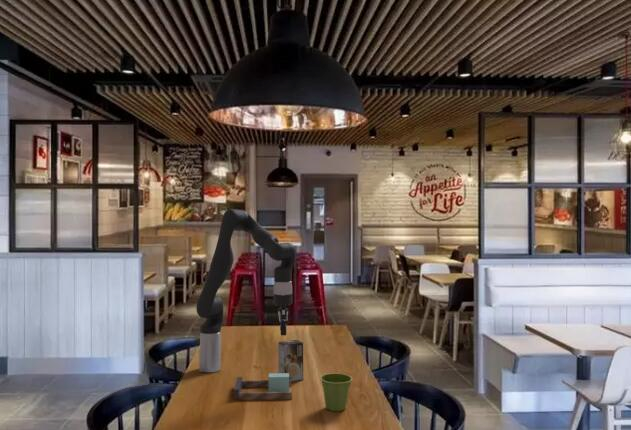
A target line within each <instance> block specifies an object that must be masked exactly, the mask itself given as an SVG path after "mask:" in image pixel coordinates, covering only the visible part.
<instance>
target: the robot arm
mask: <svg viewBox="0 0 631 430" xmlns="http://www.w3.org/2000/svg"><path fill="white" fill-rule="evenodd" d="M219 227H220V228H219V232H218V233H219V234H218V238H217V243H216V244H215V245H216V246H215V249H214V253H213V256H212V257H211V258H212V259H211V262H210V265H209V270H208V271H207V272H208V273H207V276H206V278H205V279H206V280H205V282H204V285H203V288H202V290H201V292H200V295H199V297H198V299H197V302H196V308H195V309H196V314H197V315H198V317H200V318H202V319H205V321H204V322H203V323H202V324H201V325H200V328H199V330H200V331H199V336H200V337H199V350H198V351H199V355H198V358H199V360H198V362H199V363H198V369H199V371H198V372H200V373H201V372H202V373H216V372H219V371H221V370H222V363H221V362H222V354H221V353H222V327H223V323H224V322H223V321H224V303H223V299H222V298H221V297H220V296H218V295H217V293H218V291H219V289H220V288H221V287H222V285H223V284H224V283H225V281H226V280H227V279H228V277H229V275H230V274H231V271H232V267H233V265H234V252H233V248H232V244H231V241H232V237H233V233H234V231H238V232H242V231H243V232H246V233H248V234H250V235H251V237H252V240H253V241H254V243H256V244H257V245H258V246H259V247H261V248H262V249H263V250H265V252H266V253H267V254H268V256H269V258H271V259H272V260H274V261H276V262H280V261H281V262H280V264H279V266H276V267H275V268H274V270H273V271H274V272H273V275H274V276H273V305H274V306H279V308H278V309H277V313H278V320H279V329H280V335H281V336H287V326H288V322H287V321H288V314H289V308H287V307H288V306H291V305H292V304H293V284H292V283H293V280H292V277H293V275H292V274H293V273H292V270H293V268H294V264H295V263H294V262H295V260H296V247H295V246H294V244H293V243H291V242H279V239H278V237H277V236H276V235H275V234H273V233H272V232H270V231H268V229H266V228H264V227H263V226H261V225H260V224H259V223H258V222H257V221H256V220H255V219H254V217H252V215H251V214H249V212H247V210H243V209H236V208H235V209H233V208H229V209H227V210H225V212H224V213H223V215H222V217H221V223H220V226H219Z"/></svg>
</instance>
